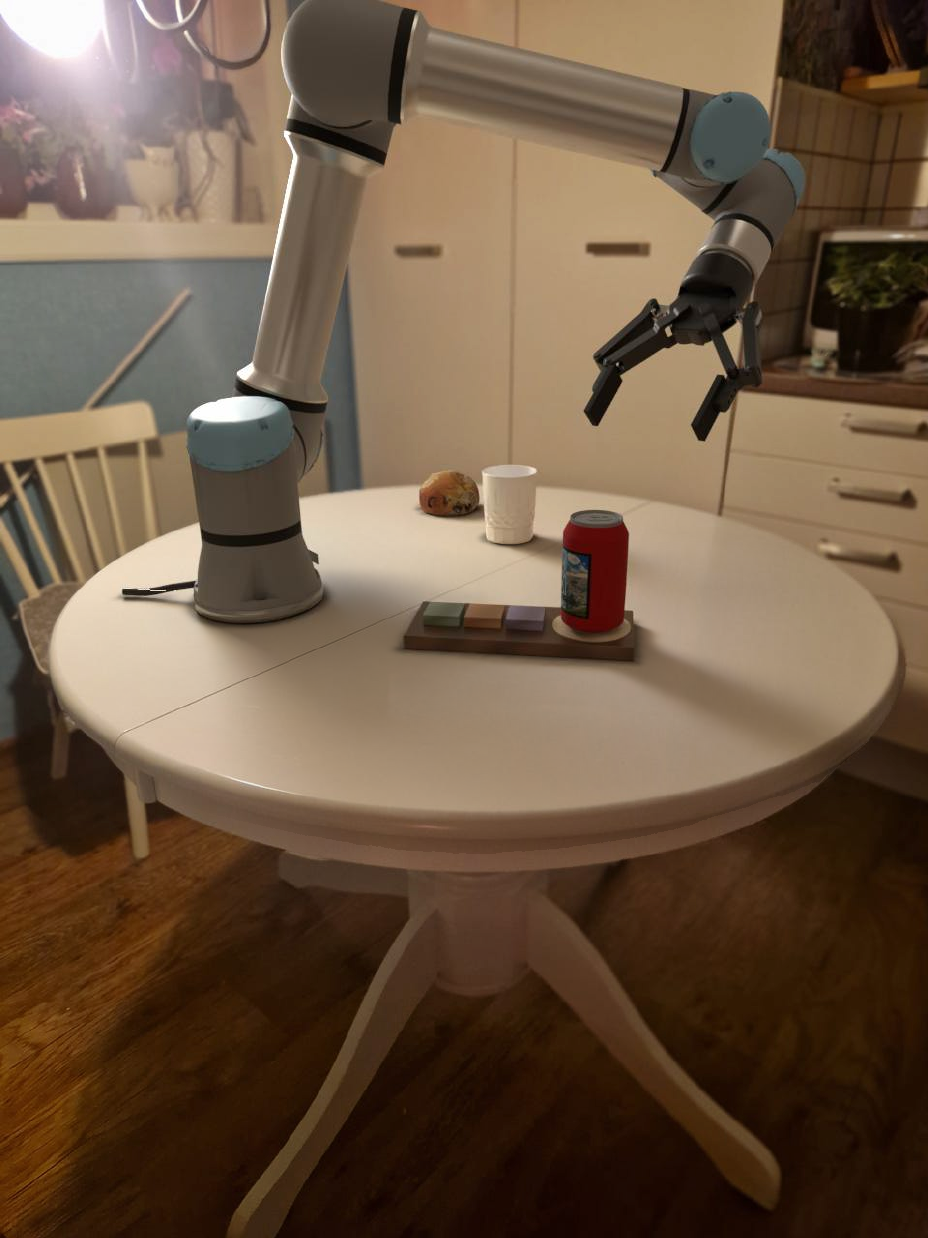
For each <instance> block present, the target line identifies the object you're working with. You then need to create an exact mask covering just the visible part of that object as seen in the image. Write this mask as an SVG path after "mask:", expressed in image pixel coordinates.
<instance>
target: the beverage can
mask: <svg viewBox="0 0 928 1238" xmlns="http://www.w3.org/2000/svg"><path fill="white" fill-rule="evenodd" d="M629 544H630V532H629V530H628V528H627V525H626V523H625V521H624V516H623V515H622V514H621V513H618V512H615V511H611V510H606V509H586V510H585V509H584V510H578V511H576V512H573V513H572V514H570V515H569V520H568V522H567V523H566V525H565V527H564V529H563V531H562V549H561V579H560V581H561V582H560V583H561V584H560V607H561V620H562V621H563V622H564V623H565V624H566V625H568V626H569V627H571V628H572V629H573V630H575V631H578V632H581V633H587V634H601V633H606V632H609V631H611V630H613V629H614V628H616V627H618V626H620V625H621V624H622V623H623V621H624V611H625V609H626V598H627V596H626V595H627V580H628V565H629V564H628V562H629V546H630V545H629Z"/></svg>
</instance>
